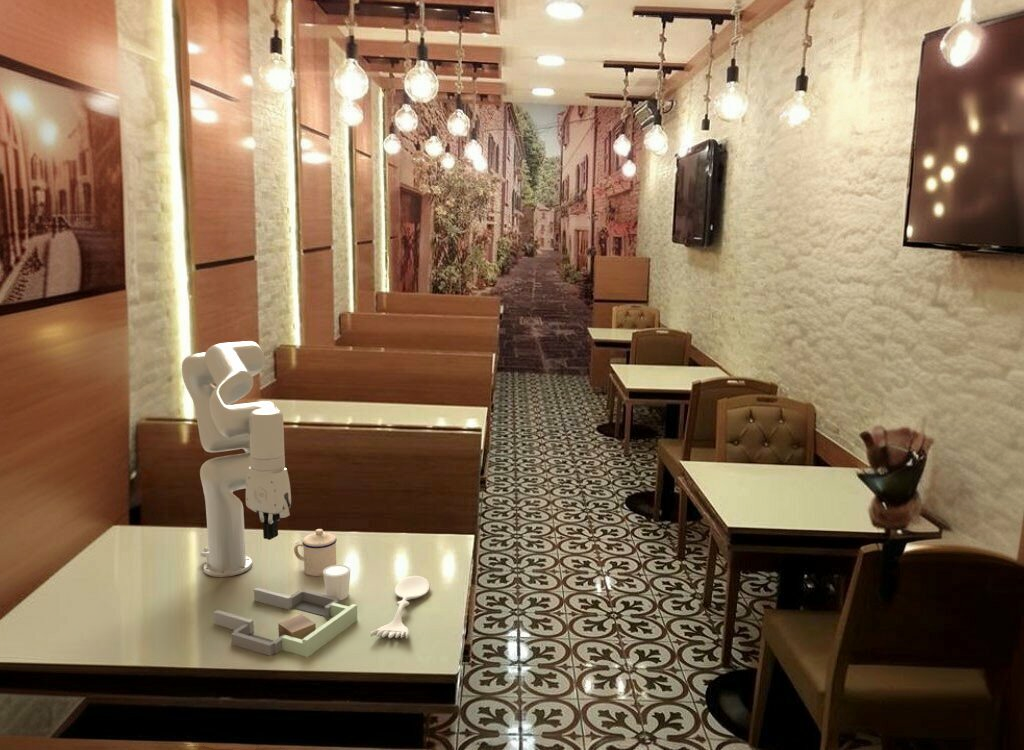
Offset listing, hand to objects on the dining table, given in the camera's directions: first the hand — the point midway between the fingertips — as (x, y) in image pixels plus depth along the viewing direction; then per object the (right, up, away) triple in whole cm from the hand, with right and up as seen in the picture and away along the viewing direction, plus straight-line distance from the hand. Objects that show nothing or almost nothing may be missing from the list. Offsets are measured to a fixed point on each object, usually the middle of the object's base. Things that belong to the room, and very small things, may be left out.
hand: (270, 537), depth 183 cm
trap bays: (+3, -21, +2) cm, 22 cm away
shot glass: (+12, -19, +17) cm, 28 cm away
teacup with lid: (+2, -16, +32) cm, 36 cm away
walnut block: (+7, -23, -4) cm, 24 cm away
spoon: (+30, -21, +9) cm, 38 cm away
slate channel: (+2, -21, +3) cm, 21 cm away
